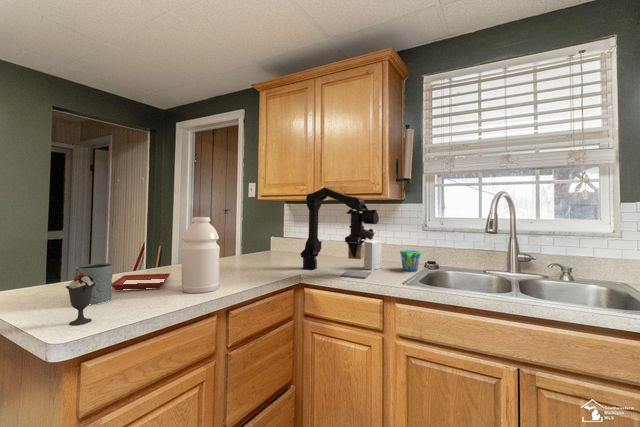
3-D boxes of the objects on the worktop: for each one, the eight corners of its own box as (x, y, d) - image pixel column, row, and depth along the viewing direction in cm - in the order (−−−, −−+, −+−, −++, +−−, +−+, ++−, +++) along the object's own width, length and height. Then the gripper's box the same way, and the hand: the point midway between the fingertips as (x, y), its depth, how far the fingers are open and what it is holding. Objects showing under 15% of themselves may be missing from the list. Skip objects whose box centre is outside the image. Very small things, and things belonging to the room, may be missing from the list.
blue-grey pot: (106, 304, 100) (106, 267, 100) (69, 307, 98) (69, 269, 97) (117, 296, 110) (117, 262, 110) (83, 298, 107) (83, 263, 107)
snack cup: (403, 267, 174) (403, 248, 174) (423, 268, 169) (423, 250, 169) (396, 271, 160) (396, 252, 160) (417, 274, 155) (418, 253, 155)
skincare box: (373, 267, 173) (374, 240, 172) (382, 268, 168) (382, 241, 168) (363, 268, 167) (363, 241, 167) (371, 270, 163) (372, 242, 162)
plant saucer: (170, 280, 138) (170, 272, 138) (163, 290, 120) (163, 281, 120) (123, 282, 132) (123, 275, 132) (109, 293, 115) (109, 284, 115)
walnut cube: (348, 258, 149) (348, 245, 149) (351, 256, 154) (351, 244, 154) (360, 259, 146) (360, 246, 146) (363, 257, 152) (363, 245, 152)
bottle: (202, 295, 113) (202, 217, 112) (172, 291, 118) (173, 217, 117) (226, 286, 126) (227, 217, 126) (199, 283, 131) (199, 216, 130)
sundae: (67, 328, 80) (67, 270, 80) (62, 322, 85) (62, 267, 85) (98, 322, 85) (98, 267, 85) (92, 316, 90) (92, 264, 90)
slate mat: (340, 276, 147) (340, 274, 147) (347, 271, 158) (347, 270, 158) (365, 278, 143) (365, 277, 143) (371, 273, 154) (371, 272, 154)
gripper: (368, 224, 139) (368, 259, 139) (377, 223, 156) (376, 254, 156) (344, 224, 143) (344, 258, 143) (355, 222, 160) (354, 253, 160)
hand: (356, 255), depth 150 cm, fingers closed on walnut cube, 6 cm apart
